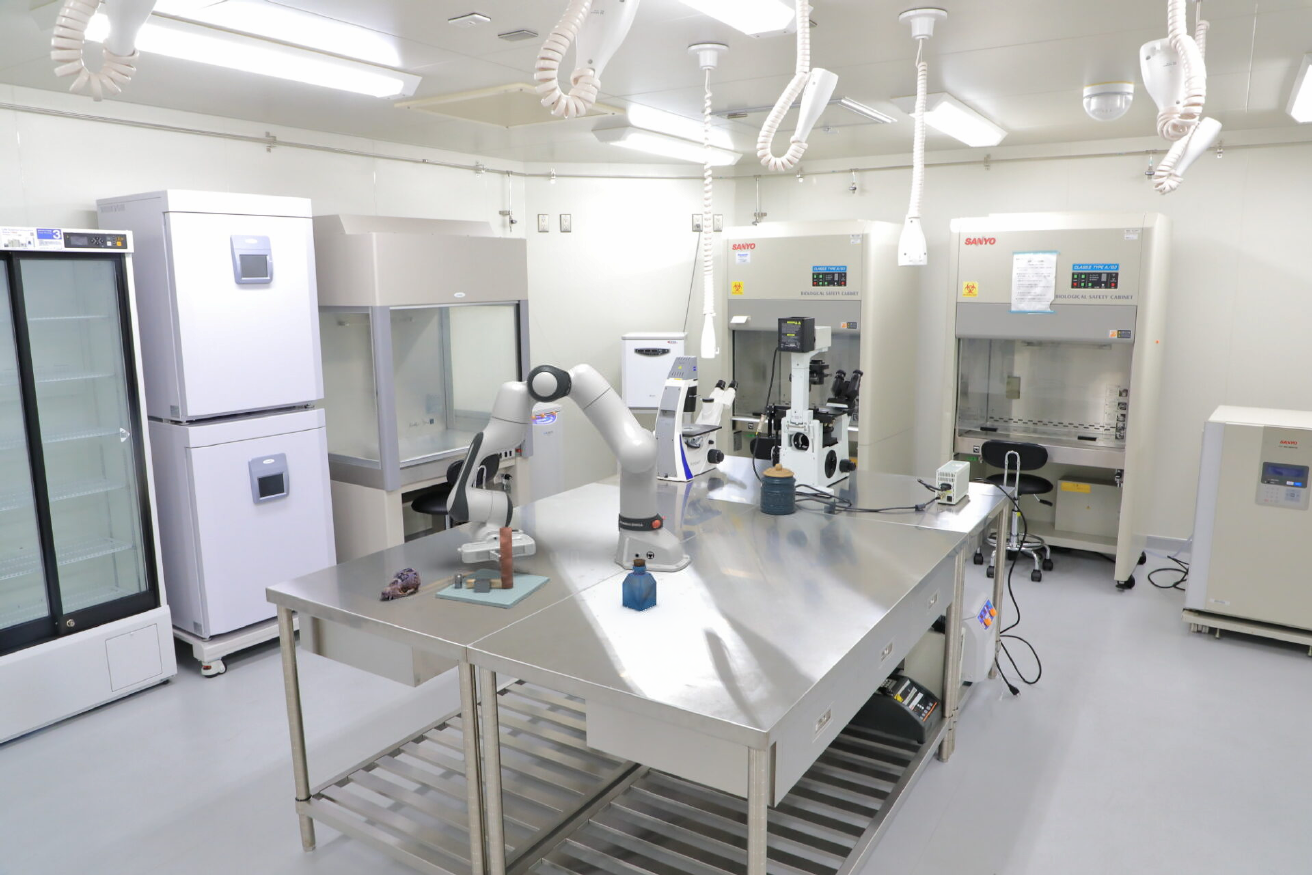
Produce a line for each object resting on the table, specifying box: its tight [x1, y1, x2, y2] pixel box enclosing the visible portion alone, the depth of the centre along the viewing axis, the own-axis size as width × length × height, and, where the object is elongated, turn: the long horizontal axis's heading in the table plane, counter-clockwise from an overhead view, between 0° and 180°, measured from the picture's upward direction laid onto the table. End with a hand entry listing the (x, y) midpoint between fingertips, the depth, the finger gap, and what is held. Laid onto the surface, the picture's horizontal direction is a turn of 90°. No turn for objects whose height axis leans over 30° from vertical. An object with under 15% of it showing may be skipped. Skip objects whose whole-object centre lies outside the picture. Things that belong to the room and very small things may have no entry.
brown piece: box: [466, 526, 514, 588], centre depth 226 cm, size 12×3×16 cm, turn 91°
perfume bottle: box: [621, 559, 658, 612], centre depth 217 cm, size 6×6×12 cm
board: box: [435, 568, 551, 609], centre depth 230 cm, size 22×22×1 cm
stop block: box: [474, 579, 491, 593], centre depth 225 cm, size 4×2×3 cm, turn 89°
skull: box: [380, 567, 421, 601], centre depth 226 cm, size 12×8×6 cm, turn 145°
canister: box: [759, 463, 797, 516], centre depth 309 cm, size 13×13×18 cm
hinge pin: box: [453, 573, 463, 589], centre depth 227 cm, size 2×2×4 cm
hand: (505, 558), depth 228 cm, fingers closed on brown piece
